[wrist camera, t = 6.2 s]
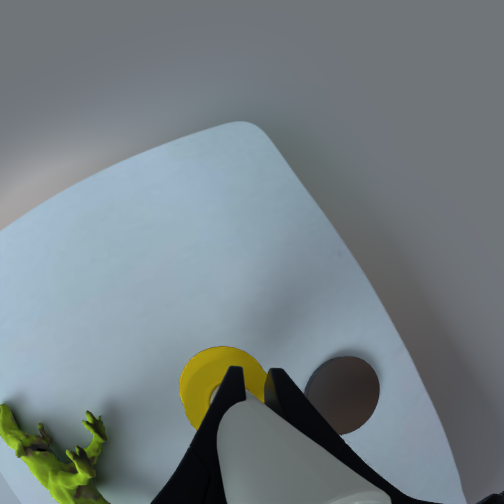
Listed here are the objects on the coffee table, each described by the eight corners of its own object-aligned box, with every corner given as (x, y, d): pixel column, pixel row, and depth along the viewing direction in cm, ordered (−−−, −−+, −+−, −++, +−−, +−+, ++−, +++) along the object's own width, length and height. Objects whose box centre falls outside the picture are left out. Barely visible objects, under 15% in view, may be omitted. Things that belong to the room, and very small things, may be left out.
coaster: (384, 404, 20) (389, 405, 19) (321, 447, 18) (325, 449, 17) (358, 342, 22) (362, 341, 21) (289, 381, 20) (292, 382, 19)
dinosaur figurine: (203, 442, 17) (202, 473, 11) (186, 528, 13) (183, 567, 8) (4, 359, 16) (-38, 354, 10) (1, 445, 12) (-34, 455, 6)
